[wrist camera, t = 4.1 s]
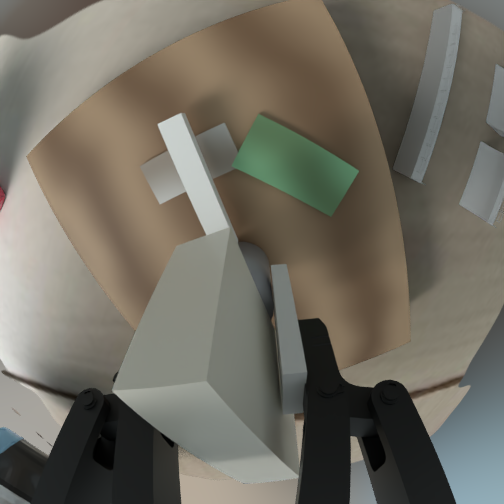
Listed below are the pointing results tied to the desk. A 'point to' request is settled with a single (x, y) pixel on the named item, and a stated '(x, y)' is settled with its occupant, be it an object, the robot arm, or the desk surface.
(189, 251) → the white piece
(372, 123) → the brown wavy board
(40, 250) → the desk surface
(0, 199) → the ink box
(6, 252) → the desk surface
